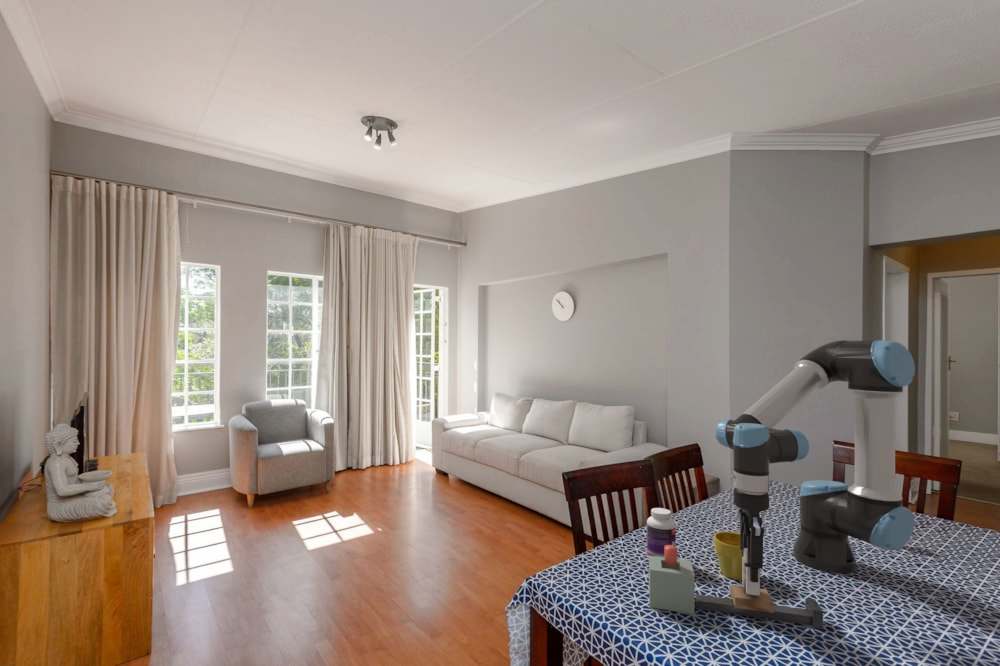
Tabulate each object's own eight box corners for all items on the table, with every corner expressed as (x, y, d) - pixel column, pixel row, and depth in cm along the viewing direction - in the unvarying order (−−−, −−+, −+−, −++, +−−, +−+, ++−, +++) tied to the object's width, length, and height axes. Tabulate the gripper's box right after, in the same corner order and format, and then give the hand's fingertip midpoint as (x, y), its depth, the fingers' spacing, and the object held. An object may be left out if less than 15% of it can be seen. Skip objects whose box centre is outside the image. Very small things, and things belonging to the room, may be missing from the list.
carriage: (766, 599, 116) (766, 547, 116) (773, 613, 110) (773, 558, 110) (730, 594, 118) (730, 543, 118) (735, 607, 112) (735, 554, 112)
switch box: (690, 596, 121) (690, 560, 121) (694, 613, 114) (694, 575, 114) (648, 590, 124) (649, 555, 124) (649, 607, 116) (650, 569, 116)
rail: (814, 617, 113) (814, 599, 113) (823, 629, 108) (823, 611, 108) (695, 600, 120) (695, 584, 120) (698, 611, 115) (698, 594, 115)
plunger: (676, 561, 120) (676, 545, 120) (677, 567, 117) (677, 550, 117) (664, 560, 121) (664, 544, 121) (664, 565, 118) (664, 549, 118)
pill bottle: (677, 568, 136) (677, 517, 137) (648, 565, 138) (648, 514, 138) (673, 555, 144) (673, 507, 144) (645, 553, 146) (645, 505, 146)
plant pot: (758, 586, 127) (758, 548, 127) (715, 579, 130) (715, 543, 130) (752, 569, 136) (752, 534, 136) (712, 562, 140) (712, 528, 140)
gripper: (727, 479, 123) (726, 571, 123) (741, 499, 107) (741, 605, 107) (759, 481, 121) (759, 575, 121) (778, 502, 106) (779, 610, 105)
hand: (750, 589), depth 114 cm, fingers closed on carriage, 3 cm apart
